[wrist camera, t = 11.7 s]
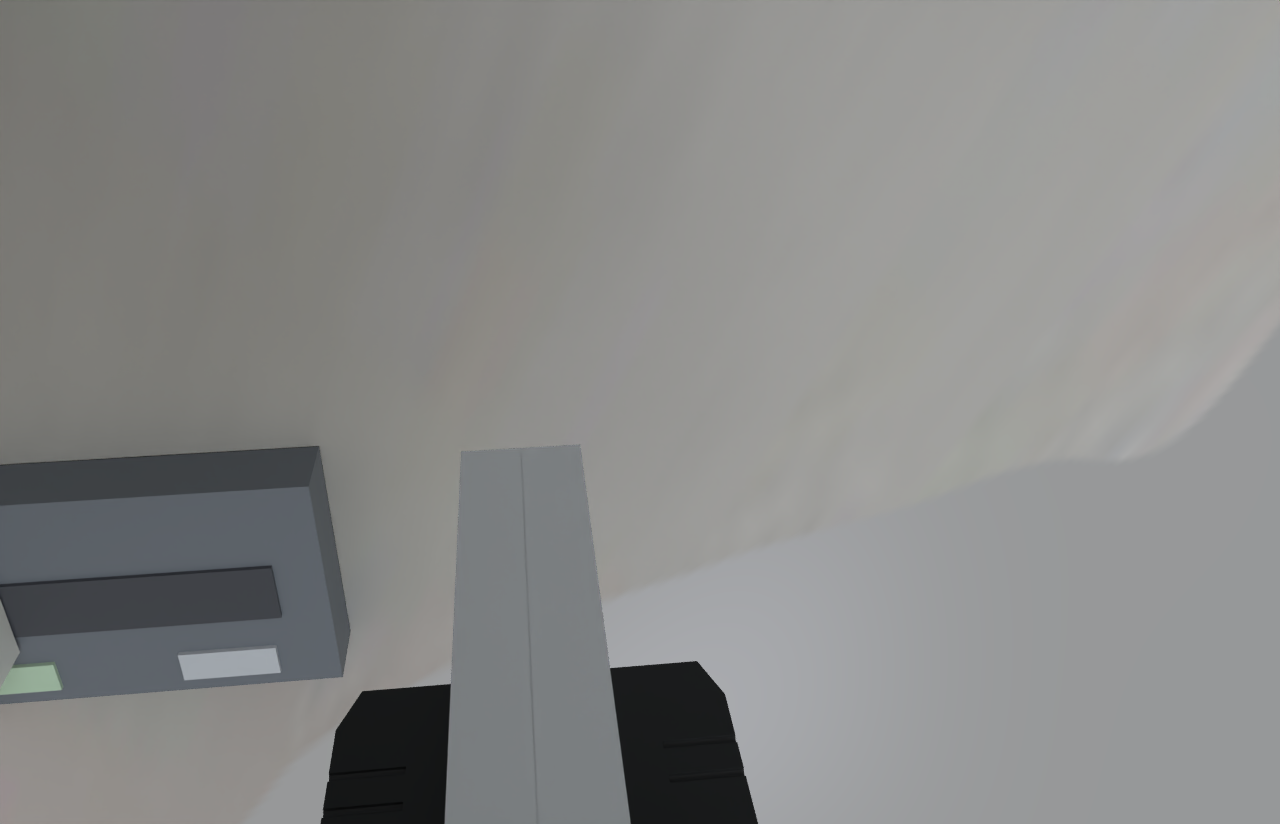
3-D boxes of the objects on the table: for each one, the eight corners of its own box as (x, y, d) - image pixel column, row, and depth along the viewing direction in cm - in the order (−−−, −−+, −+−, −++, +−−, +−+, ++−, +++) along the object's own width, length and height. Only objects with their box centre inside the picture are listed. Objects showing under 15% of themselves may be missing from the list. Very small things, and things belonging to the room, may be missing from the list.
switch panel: (-63, 662, 49) (-97, 715, 46) (-143, 473, 44) (-185, 520, 41) (350, 631, 51) (342, 680, 48) (318, 446, 46) (307, 489, 43)
